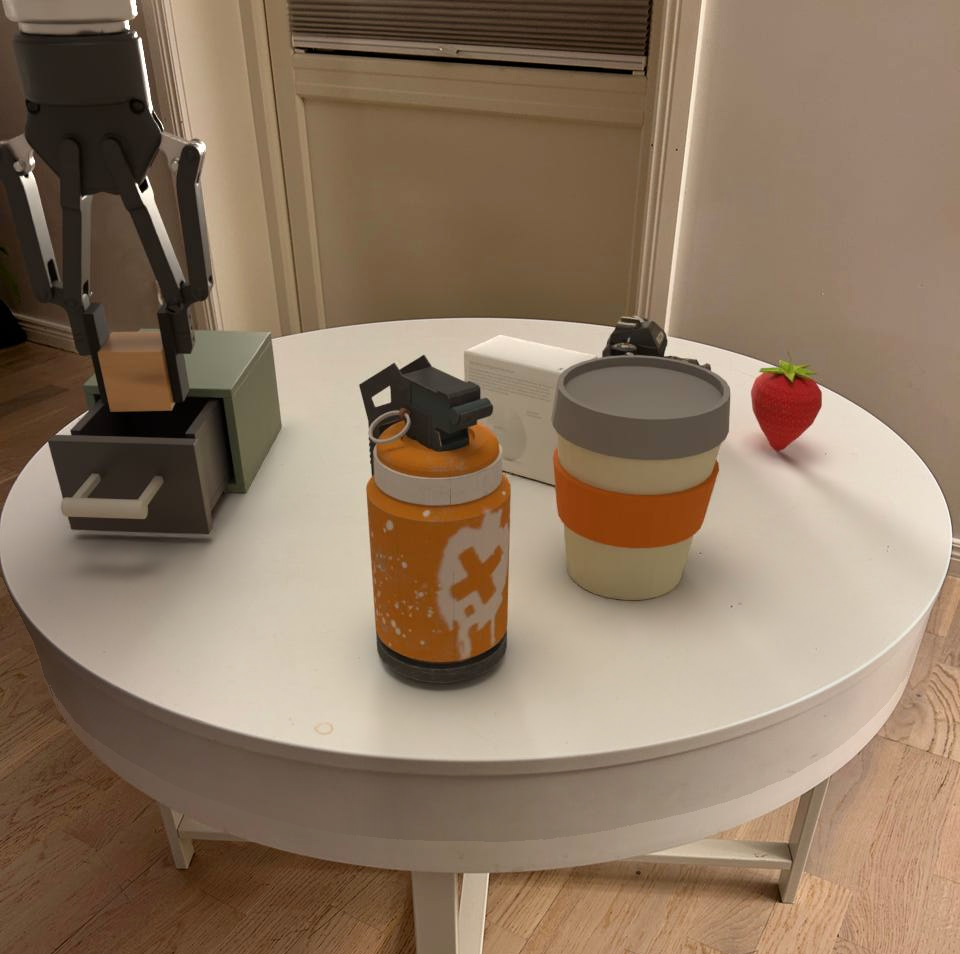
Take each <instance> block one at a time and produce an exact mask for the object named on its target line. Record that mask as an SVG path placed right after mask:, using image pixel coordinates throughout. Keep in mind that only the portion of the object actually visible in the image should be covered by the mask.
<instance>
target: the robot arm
mask: <svg viewBox="0 0 960 954" xmlns="http://www.w3.org/2000/svg"><path fill="white" fill-rule="evenodd" d="M1 2H2V7H3V10H4V15H5V17H6V18H7V20H9V21H11V22H14V23H17V24H18V29H19V30H17V31H14V32H13V33H12V37H11V38H10V44H11V48H12V54H13V57H14V62H15V67H16V70H17V74H18V75H17V76H18V79H19V83H20V88H21V93H22V97H23V100H24V104H25V108H26V117H25V120H24V121H25V122H24V124H23V133H22V134H20V135H18V136H15V137H13V138H11V139H8V138H5V139H2V140H0V181H1V182H2V184H3V186H4V188H5V192H6V195H7V200H8V204H9V207H10V211H11V214H12V218H13V222H14V227H15V230H16V233H17V238H18V241H19V244H20V249H21V252H22V256H23V260H24V263H25V266H26V270H27V275H28V278H29V281H30V286H31V289H32V293H33V296H34V298H35V300H36V301H38V302H39V303H40V304H54V305H56V306H59V307H61V308H62V309H64V311H65V312H66V313H67V317H68V321H69V326H70V329H71V334H72V339H73V343H74V347H75V350H76V351H77V353H78V355H79V356H82V357H85V356H89V357H91V362H92V365H93V370H94V374H95V375H96V380H97V384H98V389H99V393H100V397H101V402H102V404H109V403H108V398H107V394H106V389H105V385H104V380H103V376H102V371H101V366H100V362H99V357H98V351H99V350H100V348H101V347H102V346H103V344H104V343H105V341H106V340H107V338H108V337H109V336H110V331H109V327H108V321H107V318H106V312H105V307H104V305H103V301H102V302H101V301H94V302H92V301H91V302H90V299H91V297H92V296H93V291H91V229H92V228H91V223H92V222H91V219H92V217H91V216H92V215H91V214H92V202H93V198H94V197H93V195H96V194H99V193H106V194H110V195H114V196H120V199H121V201H122V203H123V206H124V208H125V210H126V211H127V212H128V213H129V215H130V219H131V220H132V223H133V226H134V227H135V231H136V232H137V235H138V237H139V240H140V243H141V245H142V247H143V250H144V253H145V255H146V257H147V260H148V262H149V265H150V268H151V270H152V272H153V275H154V277H155V280H156V282H157V285H158V288H159V290H160V292H161V295H162V297H163V300H164V301H163V303H162V304H161V305H160V308H159V309H158V311H157V312H156V316H157V322H158V327H159V328H158V329H160V333H161V339H162V344H163V348H164V352H165V358H166V364H167V369H168V375H169V380H170V386H171V391H172V397H173V403H178V402H184V400H185V398H186V396H187V393H188V391H189V389H190V388H189V382H188V376H187V370H186V364H185V358H184V354H191V352H192V350H193V348H194V345H195V341H196V339H195V333H194V330H195V328H194V322H193V321H194V320H193V316H192V309H191V305H193V304H195V303H198V302H204V301H206V300H207V299H208V297H209V296H210V293H211V292H212V290H213V287H214V284H215V283H214V275H213V267H212V260H211V251H210V243H209V234H208V227H207V219H206V211H205V205H204V204H205V203H204V194H203V187H202V179H201V177H202V172H203V168H204V164H205V163H204V162H205V158H206V153H207V147H206V144H205V143H204V142H203V141H202V140H201V139H199V138H191V139H190V140H189V139H186V138H184V137H181V136H178V135H176V134H173V133H170V132H168V131H166V130H165V129H164V125H163V124H162V122H161V120H160V118H159V117H158V115H157V113H156V112H155V110H154V107H153V103H152V99H151V98H152V97H151V91H150V87H149V86H150V85H149V80H148V73H147V67H146V61H145V54H144V49H143V43H142V42H143V41H142V37H141V36H140V35H138V32H137V31H136V30H135V29H130V25H129V21H132V20H134V19H135V18H136V17H137V16H138V11H137V5H136V0H1ZM160 151H161V152H162V153H164V155H165V158H166V162H167V167H168V169H169V171H170V172H171V173H173V174H175V175H176V178H175V189H176V198H177V204H178V211H179V216H180V217H179V218H180V227H181V233H182V240H183V247H184V254H185V262H186V269H187V277H188V280H187V281H186V280H185V276H184V274H183V272H182V269H181V266H180V263H179V262H178V259H177V256H176V253H175V251H174V248H173V246H172V245H173V244H172V243H171V240H170V238H169V235H168V233H167V230H166V227H165V225H164V222H163V219H162V217H161V214H160V211H159V209H158V207H157V204H156V201H155V194H154V191H153V188H152V185H151V182H150V180H149V177H148V173H149V171H150V169H151V167H152V165H153V163H154V161H155V160H156V158H157V155H158V153H159V152H160ZM34 152H35V154H36V155H37V156H38V157H39V158H40V159H41V160H42V161H43V162H44V163H45V165H46V166H47V167H48V168H49V169H50V170H51V171H52V173H54V174H55V176H56V177H57V178H58V180H59V190H60V191H59V204H60V207H61V210H62V211H61V212H62V215H61V216H62V217H61V218H62V221H61V223H62V224H61V225H62V230H61V231H62V280H61V277H60V273H59V269H58V265H57V261H56V257H55V256H56V255H55V252H54V249H53V245H52V241H51V237H50V233H49V229H48V225H47V222H46V217H45V213H44V209H43V205H42V200H41V197H40V192H39V189H38V185H37V182H36V178H35V175H34V174H33V171H34V169H35V167H36V161H35V159H34Z"/></svg>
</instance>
